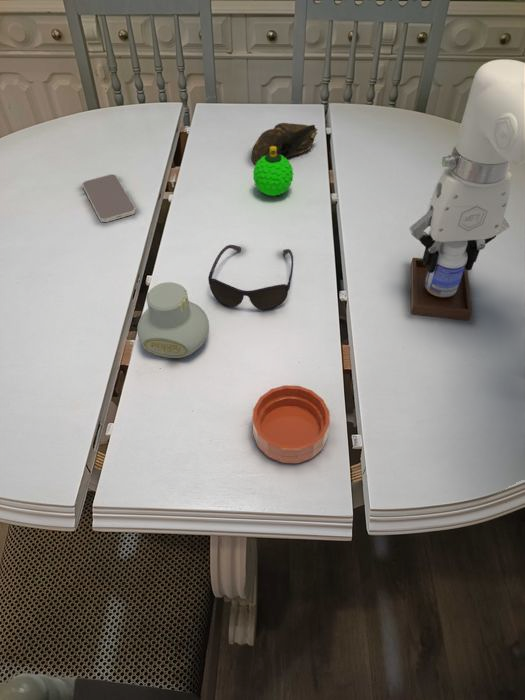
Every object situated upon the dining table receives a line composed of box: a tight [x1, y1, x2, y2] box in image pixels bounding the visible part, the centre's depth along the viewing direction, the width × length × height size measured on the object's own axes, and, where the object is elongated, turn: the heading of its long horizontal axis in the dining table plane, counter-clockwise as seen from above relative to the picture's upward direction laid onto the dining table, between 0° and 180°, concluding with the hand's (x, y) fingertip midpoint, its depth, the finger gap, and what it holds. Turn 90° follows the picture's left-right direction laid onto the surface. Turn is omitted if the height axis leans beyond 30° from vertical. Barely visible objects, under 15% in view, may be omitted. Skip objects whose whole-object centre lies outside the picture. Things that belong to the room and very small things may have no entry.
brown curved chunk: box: [251, 122, 318, 165], centre depth 119 cm, size 16×9×7 cm, turn 122°
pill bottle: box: [425, 241, 468, 297], centre depth 86 cm, size 5×5×10 cm
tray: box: [410, 257, 473, 322], centre depth 90 cm, size 12×9×2 cm
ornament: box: [252, 146, 294, 197], centre depth 107 cm, size 8×8×10 cm
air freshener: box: [136, 281, 210, 359], centre depth 80 cm, size 11×8×10 cm
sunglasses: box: [207, 244, 294, 311], centre depth 91 cm, size 14×16×5 cm
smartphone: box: [82, 173, 137, 223], centre depth 109 cm, size 7×1×15 cm
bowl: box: [252, 384, 331, 464], centre depth 71 cm, size 10×10×4 cm
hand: (447, 265), depth 86 cm, fingers closed on pill bottle, 5 cm apart
